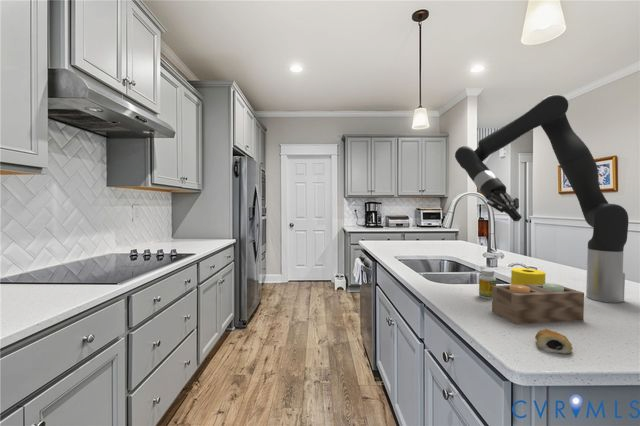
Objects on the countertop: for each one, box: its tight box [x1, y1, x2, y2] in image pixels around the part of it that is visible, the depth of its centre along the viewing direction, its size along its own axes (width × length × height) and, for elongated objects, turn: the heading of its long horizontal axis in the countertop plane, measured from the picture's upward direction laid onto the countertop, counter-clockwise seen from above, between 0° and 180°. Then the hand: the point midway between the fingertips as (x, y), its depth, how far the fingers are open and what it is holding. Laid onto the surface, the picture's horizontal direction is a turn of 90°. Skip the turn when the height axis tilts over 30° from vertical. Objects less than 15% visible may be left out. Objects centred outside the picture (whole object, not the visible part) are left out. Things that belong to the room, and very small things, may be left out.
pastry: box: [534, 328, 574, 355], centre depth 73 cm, size 9×7×4 cm
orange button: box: [509, 284, 530, 293], centre depth 91 cm, size 5×5×3 cm
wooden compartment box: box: [491, 284, 585, 325], centre depth 92 cm, size 21×10×8 cm, turn 97°
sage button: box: [543, 282, 565, 292], centre depth 93 cm, size 5×5×3 cm
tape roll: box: [510, 267, 546, 285], centre depth 111 cm, size 10×10×9 cm
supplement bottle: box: [478, 268, 497, 300], centre depth 111 cm, size 5×5×10 cm
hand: (518, 219), depth 105 cm, fingers closed
